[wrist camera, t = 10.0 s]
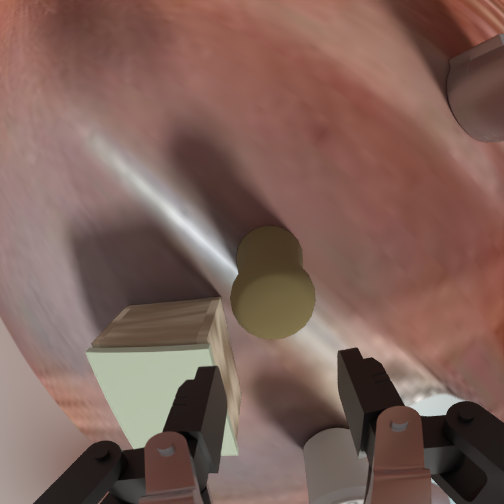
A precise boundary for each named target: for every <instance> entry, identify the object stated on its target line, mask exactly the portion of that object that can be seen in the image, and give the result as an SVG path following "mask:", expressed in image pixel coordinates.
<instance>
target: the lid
mask: <svg viewBox="0 0 504 504" xmlns="http://www.w3.org/2000/svg"><path fill="white" fill-rule="evenodd" d="M85 353H86V355H87V357H88V360H89V362H90V365H91V367H92V369H93V372H94V374H95V376H96V378H97V380H98V383H99V385H100V387H101V389H102V391H103V393H104V395H105V397H106V399H107V401H108V403H109V405H110V407H111V409H112V411H113V413H114V415H115V417H116V419H117V421H118V423H119V424H120V426H121V428H122V430H123V432H124V433H125V435H126V437H127V439H128V440H129V442H130V444H131V445H132V447H133V449H138V448H143V447H145V445H146V443H147V441H148V440H149V439H150V438H151V437H153V436H154V435H156V434H158V433H162V431H163V428H164V425H165V423H166V420H167V417H168V415H169V412H170V409H171V406H172V404H173V401H174V399H175V396H176V393H177V390H178V388H179V387H180V386H181V385H182V384H183V383H184V382H185V381H186V380H190V379H194V378H195V375H196V372H197V369H198V367H201V366H216V365H215V361H214V357H213V353H212V349H211V345H210V343H205V344H191V345H174V346H154V347H116V348H89V349H88V350H87V351H86V352H85ZM238 454H239V447H238V444H237V441H236V438H235V434H234V431H233V427H232V424H231V420H230V417H229V413H228V410H227V416H226V423H225V430H224V436H223V443H222V450H221V456H227V455H238Z"/></svg>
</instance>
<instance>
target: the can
mask: <svg viewBox="0 0 504 504" xmlns="http://www.w3.org/2000/svg"><path fill="white" fill-rule="evenodd" d="M303 454H304V462H305V470H306V479H307V487H308V496H309V504H363V501H364V494H365V488H366V481H367V473H368V464H367V461H366V458H365V457H362V458H358V456H357V452H356V449H355V445H354V442H353V439H352V435H351V432H350V429H344V428H330V429H326V430H323V431H321V432H319V433H317V434H316V435H314V436H313V437H312V438H311V439H309V440H308V441H307V443H306V444H305V445H304V449H303Z"/></svg>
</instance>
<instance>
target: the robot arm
mask: <svg viewBox="0 0 504 504" xmlns="http://www.w3.org/2000/svg"><path fill="white" fill-rule="evenodd" d="M449 63H450V68H451V69H450V72H449V75H448V77H447V95H448V100H449V104H450V106H451V109H452V112H453V114H454V116H455V118H456V119H457V121H458V122H459V124H460V125H461V127H462V128H463V129H464V130H465V131H466V132H467V133H468V134H469V135H470V136H471V137H473V138H474V139H476V140H478V141H482V142H501V141H504V34H498V35H496V36H494V37H492V38H490V39H488V40H486V41H484V42H482V43H480V44H478V45H476V46H474V47H472V48H470V49H468V50H467V51H465V52H463V53H461V54H459V55H457V56H455V57H453V58H451V59H450V60H449ZM337 358H338V391H339V396H340V399H341V403H342V406H343V409H344V412H345V415H346V419H347V422H348V425H349V429H350V432H351V435H352V439H353V442H354V445H355V449H356V452H357V456H358V458H362V457H366V456H367V458H368V461H369V467H368V473H367V481H366V488H365V494H364V501H363V504H431V502H432V500H431V478H432V479H433V480H434V481H435V482H436V483H437V484H438V485H439V486H440V487H441V489H442V490H443V491H444V492H445V493H446V494H447V495H448V496H449V497H450V498H451V499H452V500H453V501H454V502H455V503H456V504H504V423H503V422H502V421H500V420H499V419H498V418H496V417H495V416H494V415H492V414H491V413H490V412H488V411H487V410H485V409H484V408H483V407H481V406H480V405H478V404H477V403H474V402H470V401H463V402H459V403H456V404H454V405H452V406H451V407H450V408H449V409H448V411H447V414H446V415H442V416H428V417H427V416H420V415H419V413H418V412H417V411H416V410H414V409H412V408H410V407H407V406H405V405H404V403H403V401H402V399H401V398H400V396H399V394H398V392H397V390H396V389H395V387H394V385H393V383H392V381H390V378H389V376H388V374H386V371H385V369H384V367H383V366H382V364H381V363H380V362H378V361H377V360H375V359H374V358H372V357H371V358H366V359H363V357H362V355H361V353H360V351H359V349H358V348H351V349H346V350H340V351H338V355H337ZM227 408H228V405H227V396H226V392H225V388H224V384H223V380H222V377H221V373H220V369H219V367H218V366H201V367H198V369H197V372H196V375H195V378H194V379H190V380H186V381H185V382H184V383H183V384H182V385H181V386H180V387H179V388H178V390H177V393H176V396H175V399H174V401H173V404H172V406H171V409H170V412H169V415H168V417H167V420H166V423H165V425H164V428H163V431H162V433H158V434H156V435H154V436H153V437H151V438H150V439H149V440H148V441H147V443H146V445H145V447H143V448H138V449H131V450H124V451H122V450H121V448H120V447H119V445H117V444H116V443H114V442H112V441H100V442H97V443H94V444H92V445H91V446H90V447H89V448H88V449H87V450H86V451H85V452H84V453H83V454H82V455H81V456H80V457H79V458H78V459H77V460H76V461H75V462H74V463H73V464H72V465H71V466H70V467H69V468H68V469H67V470H66V471H65V472H64V473H63V474H62V475H61V476H60V477H59V478H58V479H57V480H56V481H55V482H54V483H53V484H52V485H51V486H50V487H49V488H48V489H47V490H46V491H45V492H44V493H43V494H42V495H41V496H40V497H39V498H38V499H37V500H36V501H35V502H34V503H33V504H98V503H99V501H100V500H101V499H102V498H103V497H104V495H105V494H106V493H107V492H108V491H109V494H108V495H107V496H106V497H105V498H104V499H103V501H102V502H101V503H100V504H213V501H212V498H211V494H210V490H209V486H208V484H207V479H208V473H218V470H219V464H220V457H221V450H222V443H223V436H224V430H225V423H226V416H227Z"/></svg>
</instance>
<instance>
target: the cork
mask: <svg viewBox="0 0 504 504" xmlns="http://www.w3.org/2000/svg"><path fill="white" fill-rule="evenodd" d="M236 261H237V267H238V273H239V274H238V275H237V277H236V279H235V281H234V283H233V286H232V291H231V296H230V300H231V306H232V311H233V314H234V316H235V317H236V319H237V321H238V323H239V324H240V325H241V326H242V327H243V328H244V329H245V330H246V331H247V332H248V333H251V334H253V335H255V336H257V337H259V338H264V339H270V340H272V339H282V338H286V337H288V336H290V335H293V334H295V333H297V332H298V331H299V330H300V329H302V328H303V327H304V326H305V325H306V323H307V322H308V321H309V319H310V318H311V316H312V313H313V309H314V306H315V301H316V300H315V288H314V286H313V283H312V281H311V279H310V276H309V275H308V273H307V272H306V271H305V270H304V269H303V255H302V249H301V246H300V244H299V242H298V240H297V239H296V238H295V237H294V236H293V234H292V233H290V232H289V231H287V230H285V229H283V228H281V227H276V226H262V227H259V228H257V229H254V230H252V231H250V232H249V233H248V234H247V235H246V236H245V237H244V238H243V239H242V241H241V243H240V245H239V246H238V250H237V255H236Z"/></svg>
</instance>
